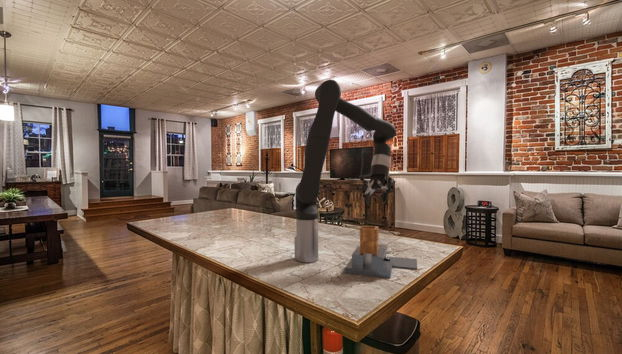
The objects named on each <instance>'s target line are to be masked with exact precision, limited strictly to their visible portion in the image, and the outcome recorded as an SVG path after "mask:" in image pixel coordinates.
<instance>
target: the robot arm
mask: <svg viewBox="0 0 622 354" xmlns="http://www.w3.org/2000/svg"><path fill="white" fill-rule="evenodd" d="M341 93H342V92H341V86H340V84H339V83H338V82H337V80H334V79H327V80H324V81H323V82H322V83H320V85H318V86H317V88H316V89H315V92H314V98H315V100H316V102H317V103H318V107H317V111H316V114H315V117H314V118H313V121H312V123H311V126H310V128H309V131H308V134H307V139H306V144H305V148H304V150H305V151H304V166H303V172H302V175H301V179H300V182H299V183H298V184H297V185H296V187H295V196H294V197H295V214H296V215H295V216H296V217H295V218H296V219H295V220H296V221H295V222H296V224H295V225H296V229H295V230H296V233H295V234H296V236H294V238H293V239H294V241H293V243H294V260H296V261H298V262H300V263H314V262H318V260H319V211H318V198H319V196H320V188H321V187H320V186H321V180H322V179H321V177H322V172H323V169H324V164H325V161H326V156H327V152H328V150H329V149H328V148H329V146H330V140H331V134H332V129H333V124H334V123H333V122H334V118H335V114H336V113H339V114H340V115H341V116H343V117H345V118H347V119H348V120H350V121H352V122H353V123H355V125H357V126H359V127H361V128H362V129H363V130H364V131H366V132H372V131H373V132H374V133H373V135H372V140H373V147H374V149H373V150H374V151H373V155H372V159H371V166H370V167H371V168H370V174H369V176H370V179H369V180H366V179H365V180H363V184H362V188H361V193H362V194H364V195H365V196H364V202H365V204H366V205H369V204H370V202H371V195H372V194H373V193H374V192H375V191H382V192H383V193H382V198H381V202H382V203H383V204H387V202H388V201H389V195H390V193H394V189H395V187H394V186H395V179H394V178H392V176H389V174H390V173H389V172H390V165H391V151H392V149H391V146H390V144H388V143H387V142H389V141H390V140H391V139H393V138H394V137H396V135H397V129H396V127H395V125H394V124H392V123H391V122H389V121H387V120H385V119H382V118H379V117H376V116H375V115H373V114H372V113H370V112H369V111H368V110H366V109H365V108H364V107H361V106H358V105H356V104H354V103H350V102H349V101H347V100H346V99H344V98H342V97H341Z"/></svg>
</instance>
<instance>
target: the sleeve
mask: <svg viewBox="0 0 622 354" xmlns="http://www.w3.org/2000/svg"><path fill="white" fill-rule="evenodd" d="M379 239H380V238H379V226H377V225H375V226H373V225H362V226H361V227H359V247H360V253H366V254H377V253H378V250H379V241H380V240H379Z"/></svg>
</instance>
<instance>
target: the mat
mask: <svg viewBox="0 0 622 354" xmlns="http://www.w3.org/2000/svg"><path fill="white" fill-rule="evenodd" d="M386 258H390V262H393V268H395V269H396V268H397V269H403V270H405V269H406V270H415V271H418V259H417V258H410V257H409V258H408V257H401V256H400V257H398V256H387V255H386ZM386 262H387V261H386Z"/></svg>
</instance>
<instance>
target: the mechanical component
mask: <svg viewBox="0 0 622 354" xmlns="http://www.w3.org/2000/svg"><path fill="white" fill-rule="evenodd" d="M389 244H390V243H389V242H388V241H386V240H385V241H384V240H379V248H384V249H386V255H387V254H391V253H392V248H391V247H389Z"/></svg>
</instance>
